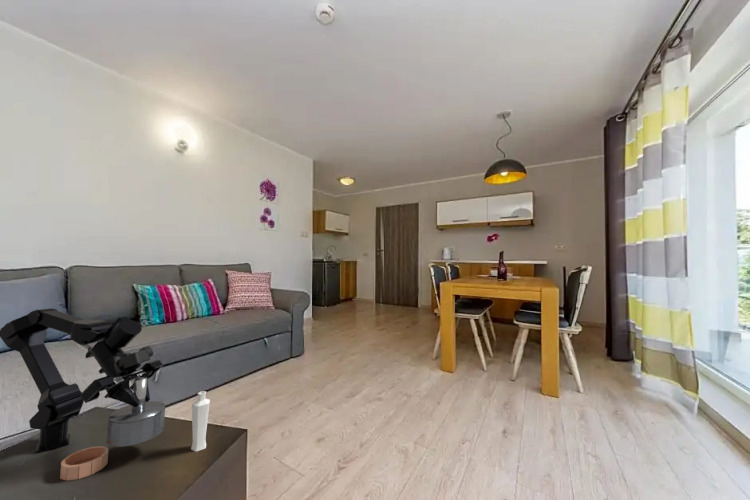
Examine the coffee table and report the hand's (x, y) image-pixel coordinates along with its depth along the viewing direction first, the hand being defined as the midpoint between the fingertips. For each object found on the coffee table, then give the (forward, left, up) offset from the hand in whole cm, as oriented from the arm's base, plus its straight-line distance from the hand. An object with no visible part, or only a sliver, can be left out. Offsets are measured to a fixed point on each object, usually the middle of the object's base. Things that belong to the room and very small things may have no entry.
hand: (143, 403), depth 82 cm
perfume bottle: (+6, +13, -14) cm, 20 cm away
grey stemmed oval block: (-1, -1, -8) cm, 8 cm away
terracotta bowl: (-3, -11, -14) cm, 18 cm away
